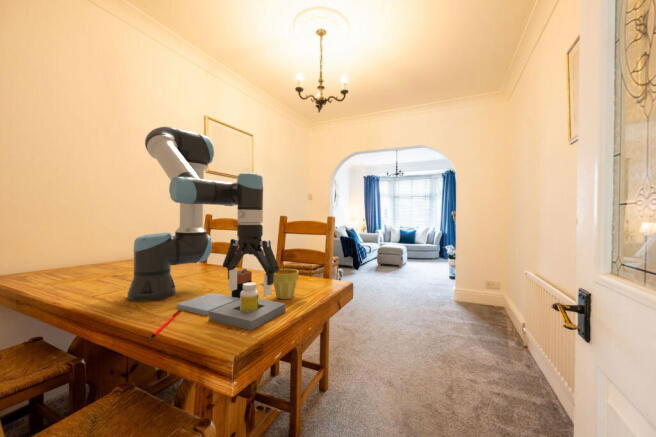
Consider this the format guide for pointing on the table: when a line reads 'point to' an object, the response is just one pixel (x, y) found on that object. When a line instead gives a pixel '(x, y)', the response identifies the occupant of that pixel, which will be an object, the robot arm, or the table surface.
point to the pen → (166, 324)
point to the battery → (242, 281)
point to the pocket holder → (247, 314)
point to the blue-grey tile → (206, 303)
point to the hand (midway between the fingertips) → (249, 292)
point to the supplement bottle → (249, 298)
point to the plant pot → (285, 283)
